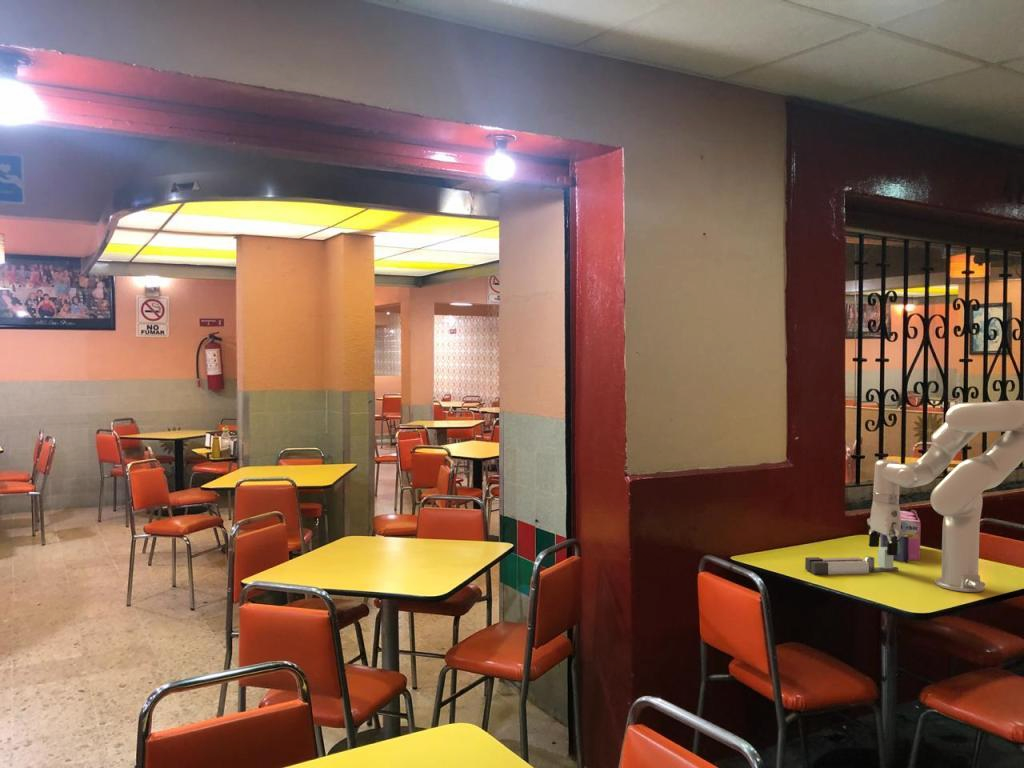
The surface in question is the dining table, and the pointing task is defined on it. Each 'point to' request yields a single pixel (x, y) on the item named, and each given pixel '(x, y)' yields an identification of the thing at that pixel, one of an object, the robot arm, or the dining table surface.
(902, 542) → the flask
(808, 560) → the tong leg
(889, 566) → the white upright block
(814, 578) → the dining table surface
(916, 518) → the gum box
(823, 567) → the base
